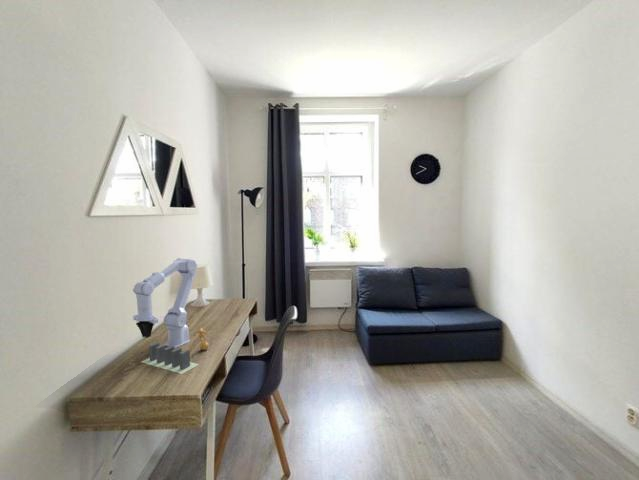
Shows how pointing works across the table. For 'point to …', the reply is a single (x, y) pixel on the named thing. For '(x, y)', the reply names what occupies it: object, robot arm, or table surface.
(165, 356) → the tile
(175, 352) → the dark grey block
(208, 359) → the table surface
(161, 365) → the felt strip
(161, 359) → the tile
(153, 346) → the tile
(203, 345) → the figurine
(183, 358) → the tile
